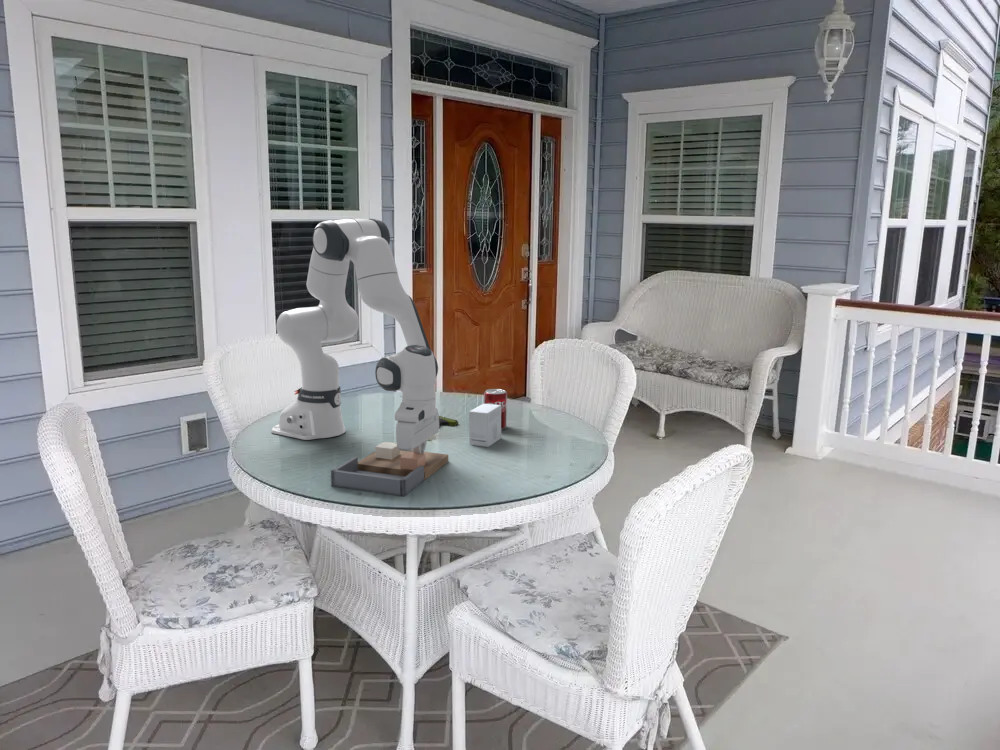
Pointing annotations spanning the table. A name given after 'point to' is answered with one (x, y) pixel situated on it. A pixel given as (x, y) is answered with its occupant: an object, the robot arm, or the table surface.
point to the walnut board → (393, 465)
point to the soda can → (497, 402)
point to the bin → (375, 479)
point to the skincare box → (485, 425)
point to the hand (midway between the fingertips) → (419, 457)
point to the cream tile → (387, 450)
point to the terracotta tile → (412, 460)
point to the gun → (447, 421)
